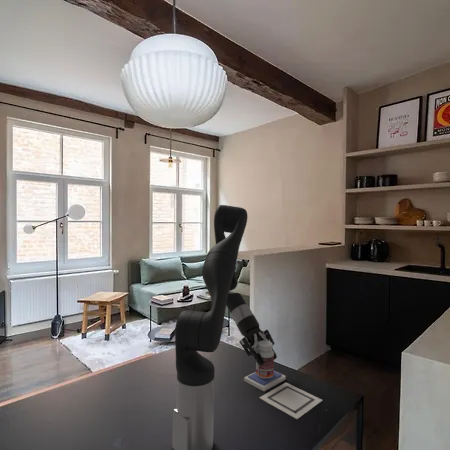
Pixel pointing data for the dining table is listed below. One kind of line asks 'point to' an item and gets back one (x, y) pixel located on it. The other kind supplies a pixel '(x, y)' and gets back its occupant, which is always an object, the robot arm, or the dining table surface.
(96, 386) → the dining table surface
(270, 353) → the pill bottle
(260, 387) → the ink pad
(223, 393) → the dining table surface
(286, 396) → the white flat square slab
